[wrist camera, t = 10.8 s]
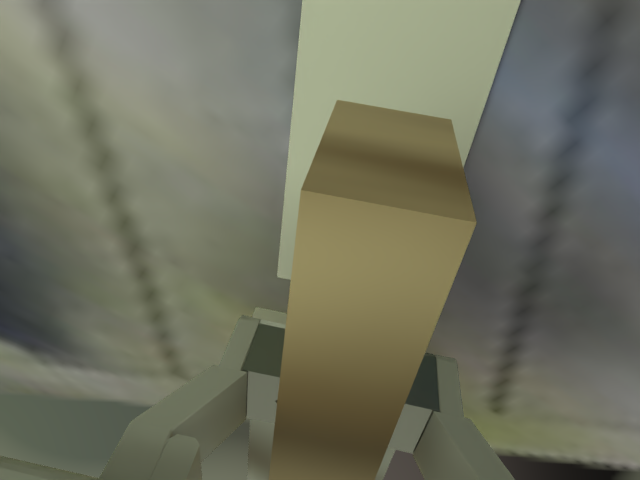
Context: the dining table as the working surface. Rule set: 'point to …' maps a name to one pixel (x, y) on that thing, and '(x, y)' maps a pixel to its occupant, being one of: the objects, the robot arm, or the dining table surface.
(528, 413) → the dining table surface
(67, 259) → the dining table surface
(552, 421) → the dining table surface
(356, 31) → the tool rest
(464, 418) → the robot arm
